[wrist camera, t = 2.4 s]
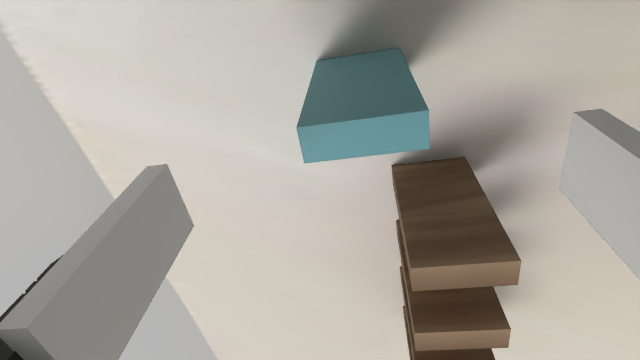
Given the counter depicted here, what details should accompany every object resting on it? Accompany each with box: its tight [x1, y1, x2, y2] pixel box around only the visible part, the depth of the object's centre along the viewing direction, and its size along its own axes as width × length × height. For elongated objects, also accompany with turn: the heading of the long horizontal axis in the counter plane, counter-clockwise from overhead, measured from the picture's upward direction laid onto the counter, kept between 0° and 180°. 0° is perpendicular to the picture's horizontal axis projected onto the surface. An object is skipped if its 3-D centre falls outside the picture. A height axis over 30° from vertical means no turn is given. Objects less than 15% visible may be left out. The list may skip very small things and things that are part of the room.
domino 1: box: [297, 48, 430, 163], centre depth 19 cm, size 2×5×10 cm, turn 100°
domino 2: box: [392, 157, 521, 291], centre depth 22 cm, size 2×5×10 cm, turn 100°
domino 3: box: [396, 220, 511, 351], centre depth 25 cm, size 2×5×10 cm, turn 100°
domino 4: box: [400, 267, 495, 360], centre depth 27 cm, size 2×5×10 cm, turn 100°
